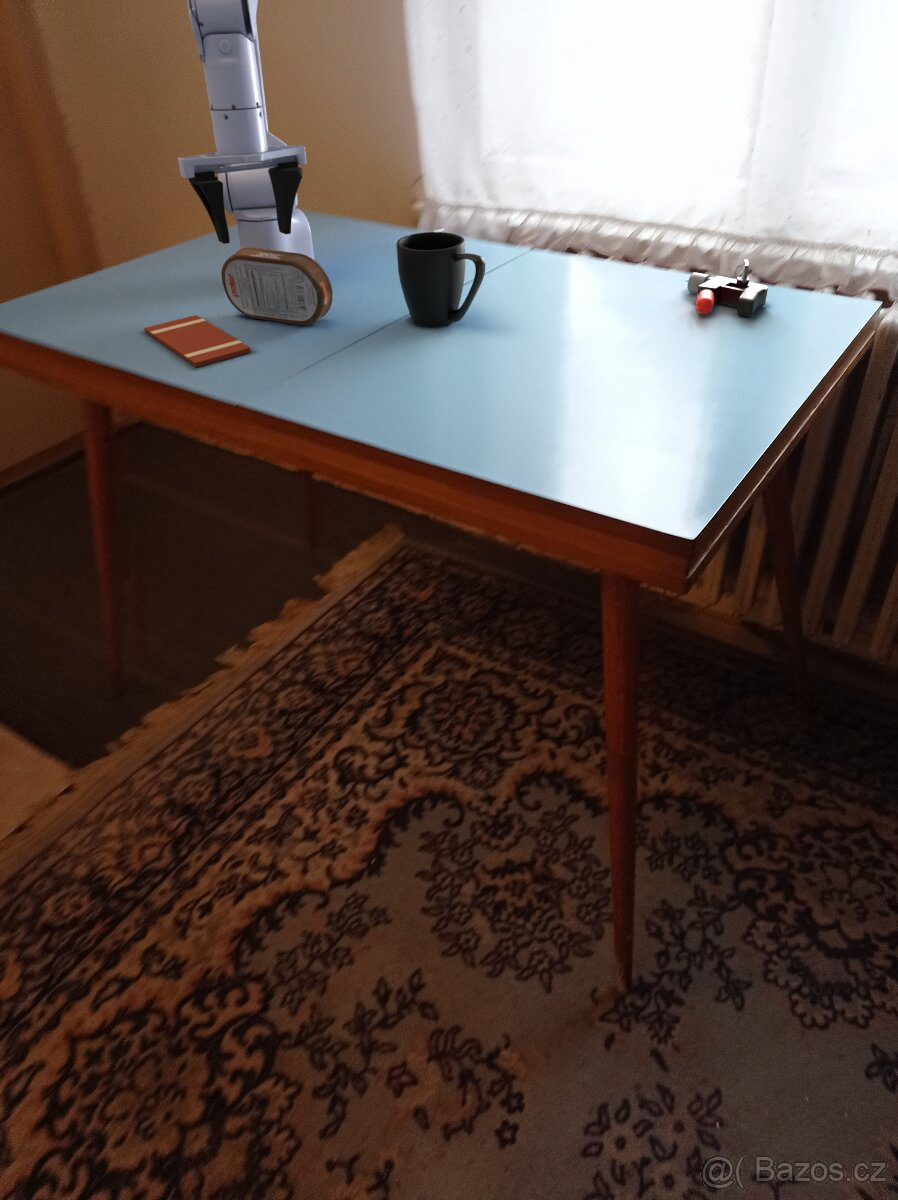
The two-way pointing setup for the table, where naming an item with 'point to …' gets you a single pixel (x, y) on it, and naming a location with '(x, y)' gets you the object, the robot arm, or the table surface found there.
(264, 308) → the tin
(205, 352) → the towel
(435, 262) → the mug
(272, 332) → the table surface
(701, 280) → the red and grey device
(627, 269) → the table surface
